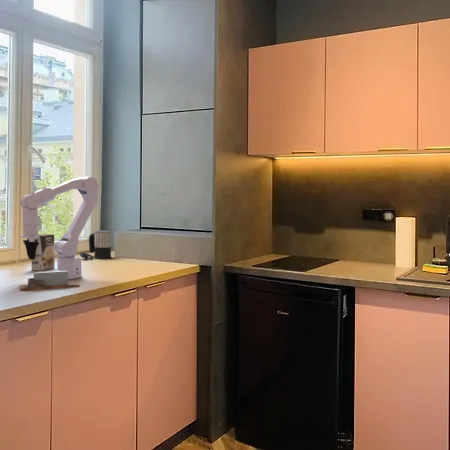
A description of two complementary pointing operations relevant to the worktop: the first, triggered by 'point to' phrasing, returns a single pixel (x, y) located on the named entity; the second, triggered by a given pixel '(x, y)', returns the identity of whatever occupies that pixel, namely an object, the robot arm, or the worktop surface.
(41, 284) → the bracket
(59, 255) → the robot arm
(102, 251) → the milk frother
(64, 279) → the rail
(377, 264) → the worktop surface
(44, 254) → the coffee box
